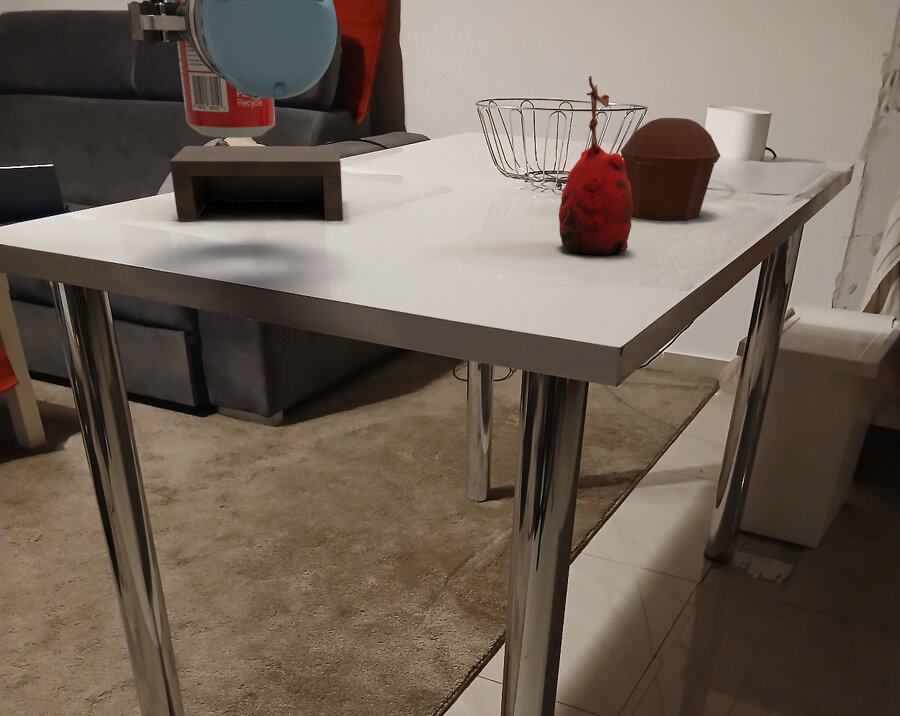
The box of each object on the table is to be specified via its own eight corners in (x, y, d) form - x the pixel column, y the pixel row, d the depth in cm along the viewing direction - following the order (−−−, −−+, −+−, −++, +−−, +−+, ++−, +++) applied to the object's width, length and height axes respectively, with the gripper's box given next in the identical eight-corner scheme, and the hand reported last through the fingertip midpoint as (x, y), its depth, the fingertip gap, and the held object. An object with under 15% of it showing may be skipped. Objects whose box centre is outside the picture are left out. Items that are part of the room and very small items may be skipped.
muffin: (692, 226, 101) (707, 125, 95) (600, 216, 105) (609, 119, 100) (721, 211, 109) (736, 118, 104) (634, 202, 114) (645, 113, 109)
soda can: (189, 139, 77) (164, -79, 69) (186, 130, 84) (162, -71, 76) (281, 139, 79) (267, -73, 71) (270, 130, 86) (256, -65, 77)
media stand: (177, 221, 98) (169, 160, 95) (192, 200, 110) (185, 145, 107) (343, 220, 100) (340, 161, 97) (339, 199, 112) (337, 146, 109)
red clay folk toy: (644, 253, 88) (666, 76, 80) (594, 261, 85) (612, 77, 77) (588, 239, 93) (604, 72, 85) (539, 247, 90) (550, 73, 82)
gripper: (99, 86, 62) (103, 69, 80) (388, 87, 67) (329, 72, 85) (77, -49, 58) (86, -33, 76) (386, -36, 63) (325, -24, 81)
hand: (215, 22), depth 81 cm, fingers closed on soda can, 7 cm apart
